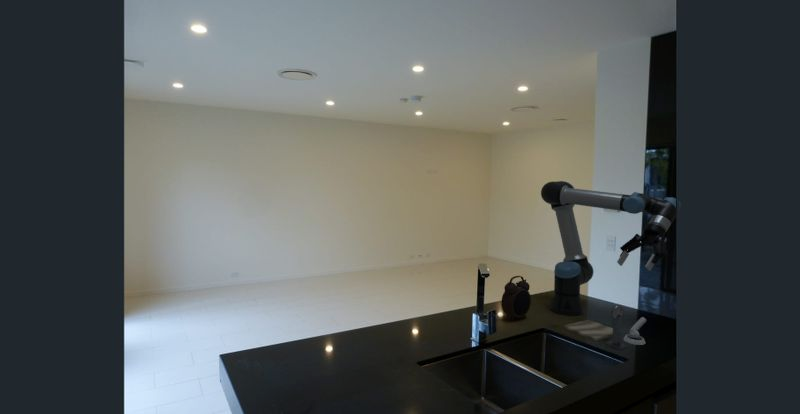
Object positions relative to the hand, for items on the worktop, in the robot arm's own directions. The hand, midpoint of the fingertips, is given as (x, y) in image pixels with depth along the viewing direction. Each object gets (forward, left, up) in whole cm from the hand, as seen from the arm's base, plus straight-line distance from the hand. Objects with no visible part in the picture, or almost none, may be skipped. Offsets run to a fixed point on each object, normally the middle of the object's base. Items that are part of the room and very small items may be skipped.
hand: (632, 266), depth 172 cm
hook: (+9, -10, -28) cm, 31 cm away
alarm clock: (-32, -34, -28) cm, 55 cm away
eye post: (+9, -21, -28) cm, 36 cm away
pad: (-6, -16, -28) cm, 33 cm away
